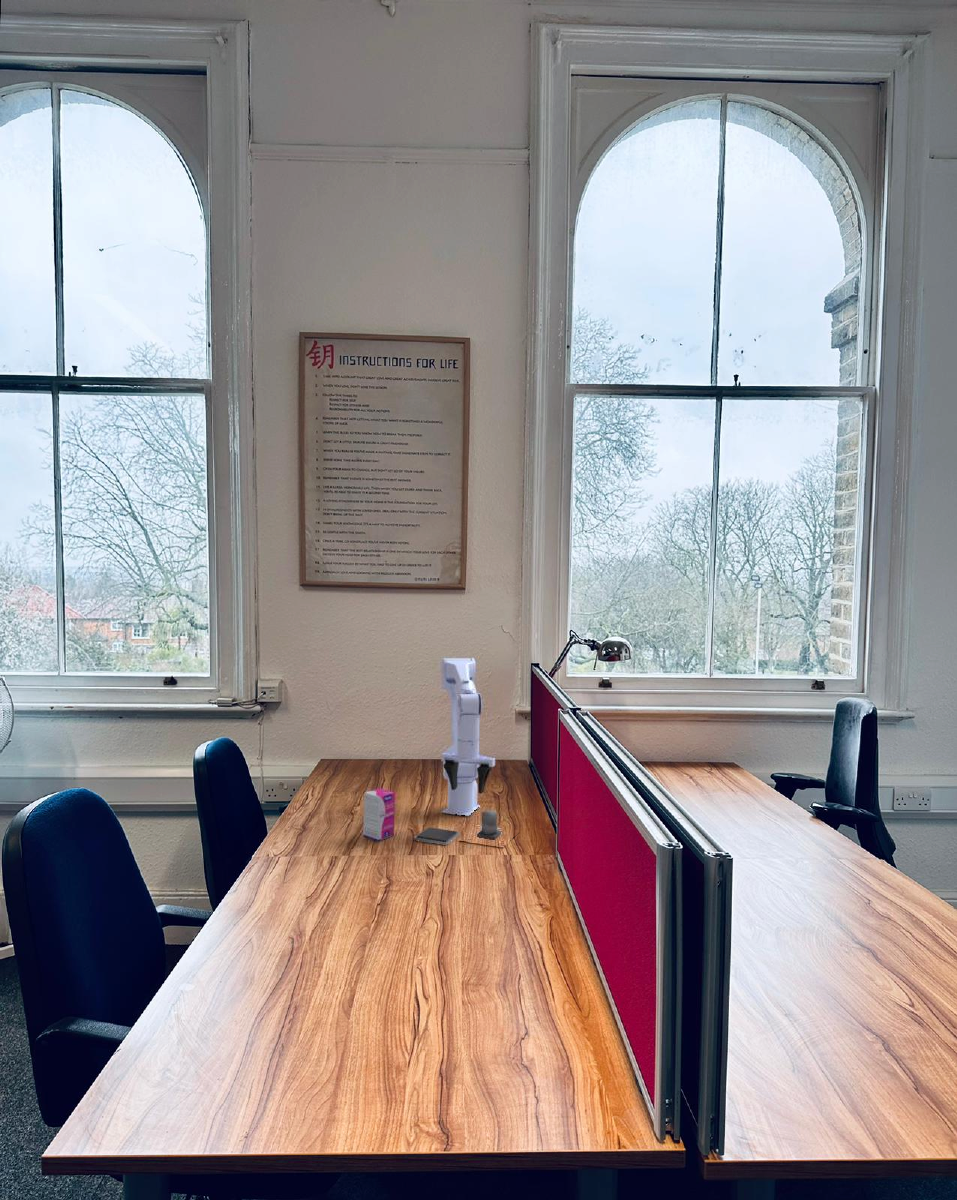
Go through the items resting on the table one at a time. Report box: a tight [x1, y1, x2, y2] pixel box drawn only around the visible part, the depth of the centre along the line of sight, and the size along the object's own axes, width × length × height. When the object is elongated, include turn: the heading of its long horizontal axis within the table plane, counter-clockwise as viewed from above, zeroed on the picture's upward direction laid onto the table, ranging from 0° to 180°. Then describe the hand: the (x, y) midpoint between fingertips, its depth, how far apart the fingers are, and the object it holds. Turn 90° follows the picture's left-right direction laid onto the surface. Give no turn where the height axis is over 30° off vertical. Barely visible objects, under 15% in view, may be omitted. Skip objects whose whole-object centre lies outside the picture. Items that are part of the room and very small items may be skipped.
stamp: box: [477, 810, 502, 840], centre depth 191 cm, size 5×5×6 cm
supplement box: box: [362, 787, 396, 842], centre depth 191 cm, size 6×6×12 cm
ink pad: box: [413, 826, 460, 846], centre depth 191 cm, size 8×9×1 cm
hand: (467, 790), depth 197 cm, fingers open, 7 cm apart
